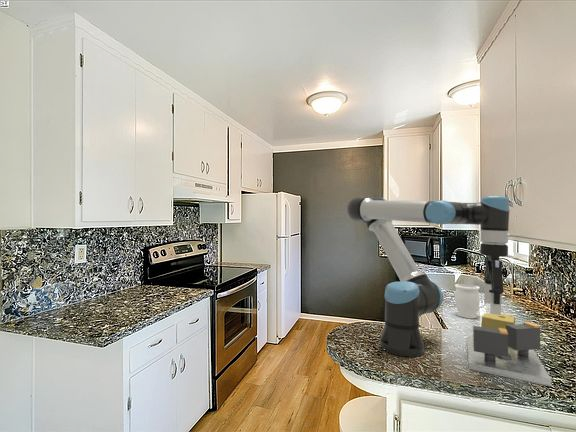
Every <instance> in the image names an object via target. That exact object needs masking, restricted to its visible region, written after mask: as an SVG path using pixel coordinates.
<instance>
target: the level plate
mask: <svg viewBox="0 0 576 432" xmlns="http://www.w3.org/2000/svg"><path fill="white" fill-rule="evenodd" d="M466 347H467V348H466V350H467V351H466V352H467V361H468V362H467V363H468V369H469V370H470V371H475V372H480V373H485V374H490V375H493V376H498V377H499V376H501V377H504V378H509V379H513V380H517V381H522V382H527V383H528V382H529V383H533V384H537V385H541V386H547V387H552V378H551V376H550V375H549V373H548V372H547V370H546V368H545V367H544V365H543V363H542V362H541V360H540V358H539V357H538V354H537V353H536V351H535V349H534V350H529V357H523V356H520V355H518V354H517V351H516V350H514V349H512V348H510V347H508V357H503V356H497V355H496V361H495V362H490V361H487V360H485V359H484V353H481V352H476V351H474V348H473V337H472V338H471V337H467V338H466Z"/></svg>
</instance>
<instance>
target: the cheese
mask: <svg viewBox="0 0 576 432" xmlns="http://www.w3.org/2000/svg"><path fill="white" fill-rule="evenodd" d="M514 324H516V317H515V316H514V315H510V314H505V313H501V315H496V314H490V313H485V312H484V314H482V316H481V324H480V327H485V328H491V329H498V330H499V328H504V329H506V325H514Z"/></svg>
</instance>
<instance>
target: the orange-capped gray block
mask: <svg viewBox="0 0 576 432" xmlns="http://www.w3.org/2000/svg"><path fill="white" fill-rule="evenodd" d="M506 330H507V332H508V347H510V348H512V349H514V350H516V351H517V354H518V355H520V356H523V357H529V350H534V351H535V350H541V326H540V325H539V324H536V323H533V322H530V321H523V323H515V324H514V325H506Z"/></svg>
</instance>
